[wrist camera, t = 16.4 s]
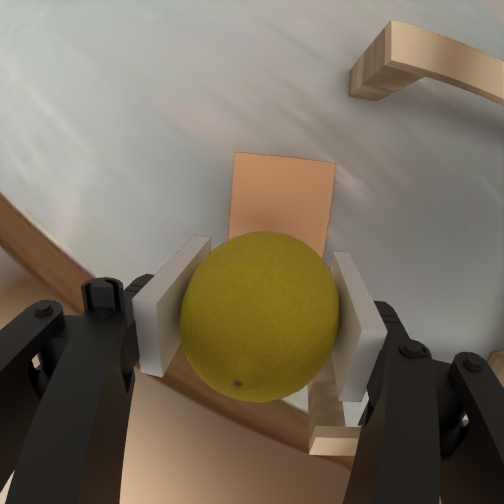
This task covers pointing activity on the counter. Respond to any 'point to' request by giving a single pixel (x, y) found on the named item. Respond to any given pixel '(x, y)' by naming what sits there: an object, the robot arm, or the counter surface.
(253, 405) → the counter surface
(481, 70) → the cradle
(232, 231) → the pad
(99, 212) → the counter surface
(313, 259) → the lemon
